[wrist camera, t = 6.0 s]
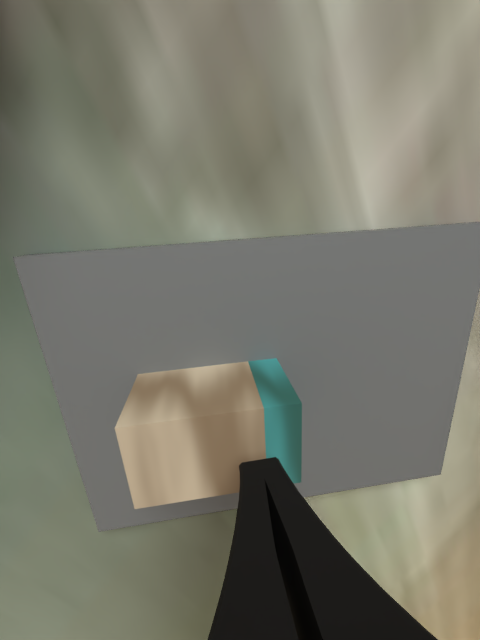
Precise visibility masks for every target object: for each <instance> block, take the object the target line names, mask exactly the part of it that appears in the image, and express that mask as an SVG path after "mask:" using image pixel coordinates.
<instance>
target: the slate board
mask: <svg viewBox="0 0 480 640" xmlns="http://www.w3.org/2000/svg"><path fill="white" fill-rule="evenodd" d="M13 259H14V262H15V266H16V269H17V272H18V275H19V278H20V282H21V285H22V288H23V291H24V294H25V298H26V301H27V304H28V307H29V310H30V314H31V317H32V320H33V323H34V326H35V330H36V333H37V336H38V339H39V342H40V345H41V349H42V352H43V355H44V358H45V361H46V365H47V368H48V371H49V374H50V377H51V381H52V384H53V387H54V390H55V393H56V397H57V400H58V403H59V406H60V409H61V413H62V416H63V419H64V422H65V425H66V429H67V432H68V435H69V438H70V441H71V445H72V448H73V451H74V454H75V457H76V461H77V464H78V467H79V470H80V473H81V477H82V480H83V483H84V486H85V489H86V493H87V496H88V499H89V502H90V505H91V509H92V512H93V515H94V518H95V521H96V525H97V528H98V531H99V532H100V531H106V530H112V529H118V528H124V527H130V526H136V525H142V524H148V523H154V522H160V521H166V520H172V519H178V518H184V517H190V516H196V515H201V514H207V513H213V512H219V511H225V510H231V509H237V508H238V501H239V492H238V493H232V494H226V495H220V496H214V497H207V498H201V499H195V500H189V501H183V502H176V503H170V504H164V505H158V506H152V507H146V508H139V509H134V505H133V501H132V497H131V493H130V488H129V484H128V480H127V476H126V472H125V468H124V464H123V460H122V456H121V452H120V448H119V444H118V440H117V436H116V432H115V426H116V424H117V421H118V419H119V417H120V415H121V412H122V410H123V408H124V405H125V403H126V401H127V398H128V396H129V394H130V391H131V389H132V387H133V384H134V382H135V380H136V378H137V375H138V374H143V373H152V372H161V371H169V370H178V369H187V368H195V367H204V366H212V365H221V364H230V363H238V362H247V361H256V360H264V359H273V358H277V360H278V362H279V363H280V365H281V367H282V369H283V371H284V372H285V374H286V376H287V378H288V379H289V381H290V383H291V385H292V386H293V388H294V390H295V392H296V394H297V395H298V397H299V399H300V401H301V402H302V469H301V482H300V483H294V485H295V486H296V488H297V489H298V491H299V492H300V494H301V495H302V496H303V497H309V496H315V495H321V494H327V493H333V492H339V491H345V490H351V489H357V488H363V487H369V486H375V485H381V484H387V483H393V482H399V481H405V480H411V479H417V478H422V477H428V476H434V475H440V474H441V470H442V465H443V461H444V456H445V451H446V446H447V441H448V436H449V432H450V427H451V422H452V417H453V412H454V408H455V403H456V398H457V393H458V388H459V384H460V379H461V374H462V369H463V364H464V360H465V355H466V350H467V345H468V340H469V336H470V331H471V326H472V321H473V316H474V312H475V307H476V302H477V297H478V292H479V288H480V222H472V223H458V224H444V225H431V226H417V227H403V228H389V229H376V230H362V231H348V232H334V233H321V234H307V235H293V236H279V237H266V238H252V239H238V240H224V241H210V242H197V243H183V244H169V245H155V246H142V247H128V248H114V249H100V250H87V251H73V252H59V253H45V254H32V255H23V256H17V257H13Z"/></svg>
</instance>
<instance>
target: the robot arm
mask: <svg viewBox="0 0 480 640" xmlns="http://www.w3.org/2000/svg"><path fill="white" fill-rule="evenodd" d="M239 472H240V489H239V501H238V509H237V517H236V524H235V530H234V536H233V541H232V546H231V551H230V556H229V561H228V566H227V570H226V574H225V579H224V583H223V587H222V590H221V594H220V598H219V602H218V606H217V609H216V613H215V616H214V620H213V623H212V627H211V630H210V634H209V637H208V640H438V639H436V638H435V637H434V636H433V635H432V634H431V633H430V632H428V631H427V630H426V629H425V628H424V627H423V626H422V625H421V624H420V623H419V622H417V621H416V620H415V619H414V618H413V617H412V616H411V615H410V614H409V613H408V612H407V611H406V610H405V609H404V608H402V607H401V606H400V605H399V604H398V603H397V602H396V601H395V600H394V599H393V598H392V597H391V596H390V595H389V594H388V593H386V592H385V591H384V590H383V589H382V588H381V587H380V586H379V585H378V584H377V583H376V582H375V580H374V579H373V578H372V577H371V576H370V575H369V574H368V573H367V572H366V571H365V570H364V569H363V568H362V567H361V566H360V565H359V564H358V563H357V562H356V561H355V560H354V559H353V557H352V556H351V555H350V554H349V553H348V552H347V551H346V550H345V549H344V548H343V546H342V545H341V544H340V543H339V542H338V541H337V539H336V538H335V537H334V536H333V535H332V534H331V532H330V531H329V530H328V529H327V528H326V526H325V525H324V524H323V523H322V521H321V520H320V519H319V518H318V516H317V515H316V514H315V512H314V511H313V510H312V508H311V507H310V506H309V504H308V503H307V502H306V500H305V499H304V498H303V496H302V495H301V494H300V492H299V491H298V489H297V488H296V486H295V485H294V483H293V482H292V481H291V479H290V477H289V476H288V474H287V473H286V471H285V469H284V468H283V466H282V464H281V463H280V461H279V459H278V458H276V457H272V458H266V459H260V460H254V461H248V462H242V463H241V464H240V465H239Z"/></svg>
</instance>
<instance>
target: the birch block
mask: <svg viewBox="0 0 480 640" xmlns="http://www.w3.org/2000/svg"><path fill="white" fill-rule="evenodd" d="M115 432H116V436H117V440H118V444H119V448H120V452H121V456H122V460H123V464H124V468H125V472H126V476H127V480H128V484H129V488H130V493H131V497H132V501H133V505H134V509H139V508H146V507H152V506H158V505H164V504H170V503H176V502H183V501H189V500H195V499H201V498H207V497H214V496H220V495H226V494H232V493H238V492H239V489H240V472H239V465H240V464H241V463H242V462H248V461H254V460H260V459H266V458H272V457H276V458H278V459H279V461H280V463H281V464H282V466H283V468H284V469H285V471H286V473H287V474H288V476H289V477H290V479H291V481H292V482H293V483H300V482H301V469H302V402H301V401H300V399H299V397H298V395H297V394H296V392H295V390H294V388H293V386H292V385H291V383H290V381H289V379H288V378H287V376H286V374H285V372H284V371H283V369H282V367H281V365H280V363H279V362H278V360H277V358H273V359H264V360H256V361H247V362H238V363H230V364H221V365H212V366H204V367H195V368H187V369H178V370H169V371H161V372H152V373H143V374H138V375H137V378H136V380H135V382H134V384H133V387H132V389H131V391H130V394H129V396H128V398H127V401H126V403H125V405H124V408H123V410H122V412H121V415H120V417H119V419H118V421H117V424H116V426H115Z"/></svg>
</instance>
